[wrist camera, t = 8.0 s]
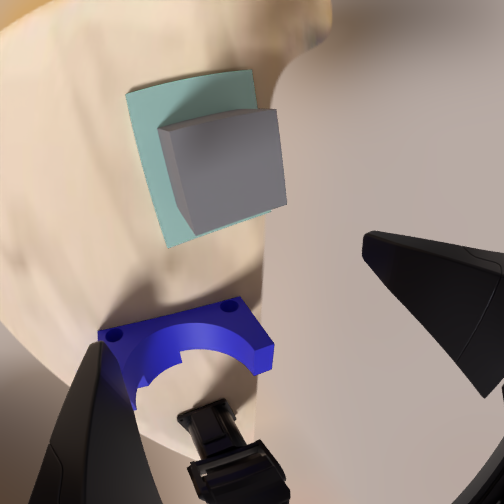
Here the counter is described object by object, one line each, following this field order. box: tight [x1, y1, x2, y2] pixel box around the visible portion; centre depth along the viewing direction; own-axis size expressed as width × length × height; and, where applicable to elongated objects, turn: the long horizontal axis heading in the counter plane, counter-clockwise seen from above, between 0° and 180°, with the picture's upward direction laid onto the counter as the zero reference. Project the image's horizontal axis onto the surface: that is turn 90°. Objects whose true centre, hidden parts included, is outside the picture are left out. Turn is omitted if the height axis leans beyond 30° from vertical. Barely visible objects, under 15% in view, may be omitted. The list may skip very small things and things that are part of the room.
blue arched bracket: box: [98, 296, 274, 411], centre depth 19 cm, size 12×4×6 cm, turn 89°
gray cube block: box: [157, 109, 287, 236], centre depth 14 cm, size 5×5×4 cm
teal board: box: [126, 69, 271, 248], centre depth 16 cm, size 10×8×1 cm
